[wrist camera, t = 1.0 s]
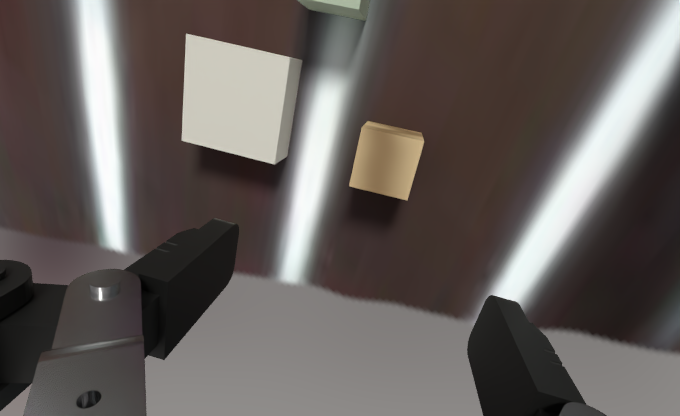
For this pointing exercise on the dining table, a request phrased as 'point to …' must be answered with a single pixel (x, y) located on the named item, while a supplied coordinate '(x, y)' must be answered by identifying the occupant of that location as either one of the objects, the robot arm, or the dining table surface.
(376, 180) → the oak cube
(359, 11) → the sage cube
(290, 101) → the cream block
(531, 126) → the dining table surface
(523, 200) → the dining table surface
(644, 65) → the dining table surface
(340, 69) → the dining table surface
